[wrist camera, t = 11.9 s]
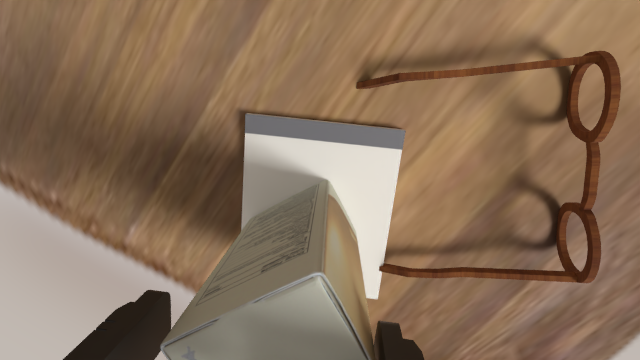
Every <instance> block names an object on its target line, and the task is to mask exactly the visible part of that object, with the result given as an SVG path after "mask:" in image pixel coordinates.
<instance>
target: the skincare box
mask: <svg viewBox="0 0 640 360" xmlns="http://www.w3.org/2000/svg"><path fill="white" fill-rule="evenodd" d="M160 349H161V351H162V352H163V354H164V355H165V356H166V358H167V359H168V360H376V358H375V352H374V345H373V339H372V332H371V326H370V319H369V312H368V306H367V300H366V293H365V286H364V280H363V273H362V267H361V261H360V254H359V248H358V241H357V235H356V230H355V228H354V226H353V224H352V222H351V220H350V218H349V216H348V214H347V212H346V210H345V208H344V206H343V205H342V203H341V201H340V199H339V197H338V195H337V193H336V191H335V190H334V188H333V186H332V184H331V182H330V181H328V180H324V181H322V182H320V183H318V184H316V185H313V186H311V187H309V188H307V189H305V190H303V191H301V192H299V193H297V194H295V195H293V196H291V197H289V198H287V199H285V200H283V201H281V202H280V203H278V204H276V205H274V206H272V207H270V208H268V209H266V210H265V211H263V212H261V213H259V214H258V215H256V216H254V217H252V218H251V219H250V220H249V221H248V223H247V224H246V226H245V227H244V228H243V230H242V231H241V233H240V234H239V235H238V237H237V238H236V240H235V241H234V242H233V244H232V245H231V247H230V248H229V249H228V251H227V252H226V254H225V255H224V256H223V258H222V259H221V261H220V262H219V263H218V265H217V266H216V268H215V269H214V270H213V272H212V273H211V275H210V276H209V277H208V279H207V280H206V282H205V283H204V284H203V286H202V287H201V288H200V290H199V291H198V293H197V294H196V296H195V297H194V298H193V300H192V301H191V302H190V304H189V305H188V307H187V308H186V310H185V311H184V313H183V314H182V315H181V316H180V318H179V319H178V321H177V322H176V323H175V325H174V326H173V328H172V329H171V331H170V332H169V333H168V335H167V336H166V338H165V339H164V340H163V341H162V343H161V345H160Z"/></svg>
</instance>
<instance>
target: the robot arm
mask: <svg viewBox="0 0 640 360" xmlns="http://www.w3.org/2000/svg"><path fill="white" fill-rule="evenodd" d="M170 301H171V300H170V294H169V293H168V292H161V291H154V290H147V291H146V292H145V293H144V294H143V295H142V296H141V297H140V298H139V299H138V300H137V301H136V302H129V303H127V304H125V305H123V306H122V307H120V308H118V309H116V310H115V311H114V312H113V313H112V314H111V315H110V316H109V317H108V318H107V319H106V320H105V322H102V323H101V324H100V325H99V326H98V327H97V328H96V330H94V331H93V332H92V333H91V334H89V335H88V336H87V337H86V338H85V339H84V340H83V341H82V342H81V343H80V344H79V345H78V346H77V347H76V348H75V349H74V350H73V351H72V352H70V353H69V354H68V355H67V356H66V357H65V358H64V359H63V360H154V359H155V358H156V357H157V355H158V354H159V352H160V351H161V349H160V345H161V343H162V341H163V340H164V339H165V338H166V336H167V335H168V333H169V332H170V331H171V302H170ZM374 352H375V358H376V360H424V357H423V354H422V351H421V350H420V349H419V347H418V346H417V345H416V344H415V342H414V341H413V340H408V339H403V338H402V334H401V329H400V325H399V323H392V322H385V321H378V324H377V329H376V335H375V341H374Z"/></svg>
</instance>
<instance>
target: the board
mask: <svg viewBox="0 0 640 360" xmlns="http://www.w3.org/2000/svg"><path fill="white" fill-rule="evenodd" d="M404 136H405V130H404V129H395V128H385V127H376V126H366V125H357V124H347V123H338V122H328V121H318V120H309V119H299V118H290V117H280V116H271V115H261V114H252V113H247V114H245V151H244V176H243V200H242V225H241V231H242V230H243V228H244V227H245V226H246V224H247V223H248V221H249V220H250V219H251V218H252V217H254V216H256V215H258V214H259V213H261V212H263V211H265V210H266V209H268V208H270V207H272V206H274V205H276V204H278V203H280V202H281V201H283V200H285V199H287V198H289V197H291V196H293V195H295V194H297V193H299V192H301V191H303V190H305V189H307V188H309V187H311V186H313V185H316V184H318V183H320V182H322V181H324V180H328V181H330V182H331V184H332V186H333V188H334V190H335V191H336V193H337V195H338V197H339V199H340V201H341V203H342V205H343V206H344V208H345V210H346V212H347V214H348V216H349V218H350V220H351V222H352V224H353V226H354V228H355V230H356V235H357V241H358V248H359V254H360V261H361V267H362V273H363V280H364V286H365V293H366V298H372V299H378V293H379V287H380V281H381V275H382V272H381V271H379V266H383V263H384V257H385V251H386V244H387V238H388V232H389V226H390V220H391V214H392V208H393V202H394V195H395V189H396V183H397V177H398V171H399V165H400V159H401V152H402V149H403V143H404Z"/></svg>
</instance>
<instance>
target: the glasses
mask: <svg viewBox="0 0 640 360" xmlns="http://www.w3.org/2000/svg"><path fill="white" fill-rule="evenodd" d="M593 63H595V64H597V65H598V66H599V67H600V69H601V70H602V73H603V76H604V81H605V100H604V106H603V110H602V114H601V117H600V119H599V121H598V123H597V125H596V126H595V128H594V129H593V130H591V131H590V130H588V129H586V128H585V127H584V126H583V125H582V123H581V121H580V118H579V113H578V94H579V87H580V83H581V80H582V77H583V75H584V73H585V71H586V70H587V68H588V67H589V66H590V65H592V64H593ZM569 65H575V67H574V69H573V71H572V74H571V77H570V81H569V89H568V101H567V118H568V123H569V127H570V129H571V131H572V133H573V134H574V135H575V136H576V137H577V138H579V139H580V140H582V141H584V142H586V148H587V162H586V171H585V181H584V191H583V197H582V201H581V204H580V203H564V204H563V205H562V207H561V208H560V211H559V213H558V222H557V234H556V242H557V250H558V254H559V258H560V261H561V263H562V266H563V268H564V269H565V271H543V270H518V269H493V268H468V267H459V268H443V269H412V268H406V267H401V266H395V265H390V264H385V263H383V266H379V271H381V272H386V273H391V274H396V275H401V276H406V277H421V278H452V277H475V278H496V279H517V280H538V281H559V282H579V283H590V282H592V281H593V280H594V279H595V277H596V275H597V273H598V270H599V265H600V259H601V241H600V234H599V230H598V226H597V222H596V218H595V216H594V214H593V212H592V211H591V209H592V207H593V205H594V203H595V200H596V195H597V186H598V177H599V168H600V150H599V144H598V142H601V141H603V140H604V139H605V137H606V136H607V134H608V133H609V131H610V129H611V128H612V126H613V123H614V121H615V119H616V115H617V111H618V107H619V101H620V90H621V83H620V73H619V68H618V65H617V62H616V60H615V59H614V57H613V56H612V55H611V54H610V53H608V52H605V51H595V52H589V53H587V54H585V55H584V56H582V57H573V58H564V59H555V60H546V61H537V62H528V63H519V64H509V65H500V66H491V67H482V68H473V69H463V70H447V71H430V72H412V73H398V74H394V75H389V76H385V77H380V78H376V79H371V80H367V81H362V82H358V83H357V89H365V88H374V87H379V86H384V85H389V84H394V83H399V82H404V81H415V80H428V79H440V78H452V77H464V76H474V75H483V74H493V73H502V72H512V71H521V70H531V69H541V68H550V67H560V66H569ZM572 212H574V213H576V214H577V215H578V216H579V217H580V218H581V220H582V222H583V224H584V227H585V230H586V234H587V241H588V254H587V261H586V264H585V267H584V269H583V270H582V271H581V272H580V271H579V270H578V269H577V268H576V267H575V266H574V264H573V263H572V261H571V259H570V257H569V254H568V250H567V245H566V226H567V221H568V218H569V216H570V214H571V213H572Z"/></svg>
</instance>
